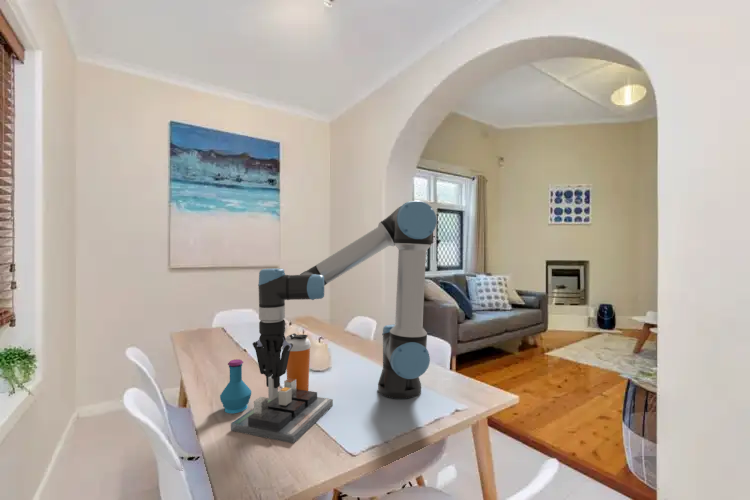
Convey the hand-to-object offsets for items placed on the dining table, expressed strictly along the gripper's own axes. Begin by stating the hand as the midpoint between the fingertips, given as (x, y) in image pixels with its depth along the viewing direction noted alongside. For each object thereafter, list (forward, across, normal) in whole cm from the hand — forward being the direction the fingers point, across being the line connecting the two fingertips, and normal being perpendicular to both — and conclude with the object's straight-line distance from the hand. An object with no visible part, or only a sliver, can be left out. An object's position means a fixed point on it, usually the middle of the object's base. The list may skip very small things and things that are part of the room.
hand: (273, 397), depth 108 cm
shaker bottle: (+6, +2, -17) cm, 18 cm away
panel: (+5, -4, 0) cm, 7 cm away
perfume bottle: (+5, +14, 0) cm, 15 cm away
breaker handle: (+1, -4, 0) cm, 4 cm away
